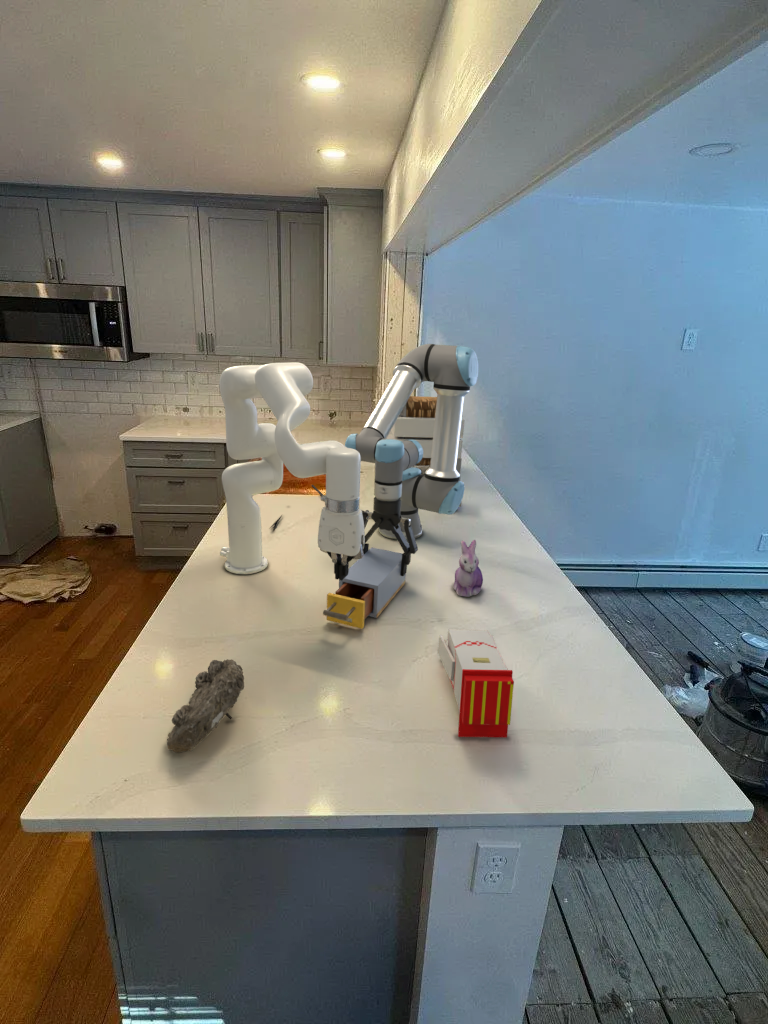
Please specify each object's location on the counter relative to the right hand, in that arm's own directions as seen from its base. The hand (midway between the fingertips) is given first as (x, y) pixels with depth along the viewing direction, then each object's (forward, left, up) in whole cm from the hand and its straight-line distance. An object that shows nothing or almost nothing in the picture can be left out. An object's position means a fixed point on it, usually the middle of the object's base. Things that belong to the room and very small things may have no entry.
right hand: (384, 570), depth 162 cm
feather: (-62, +3, -4) cm, 62 cm away
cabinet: (+3, -7, -4) cm, 9 cm away
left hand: (+13, -25, +10) cm, 30 cm away
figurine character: (-36, +67, -4) cm, 76 cm away
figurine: (+17, +17, -4) cm, 25 cm away
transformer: (-79, +91, -4) cm, 120 cm away
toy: (+48, -17, -4) cm, 51 cm away
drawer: (+9, -17, -3) cm, 19 cm away
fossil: (+23, -62, -4) cm, 67 cm away
